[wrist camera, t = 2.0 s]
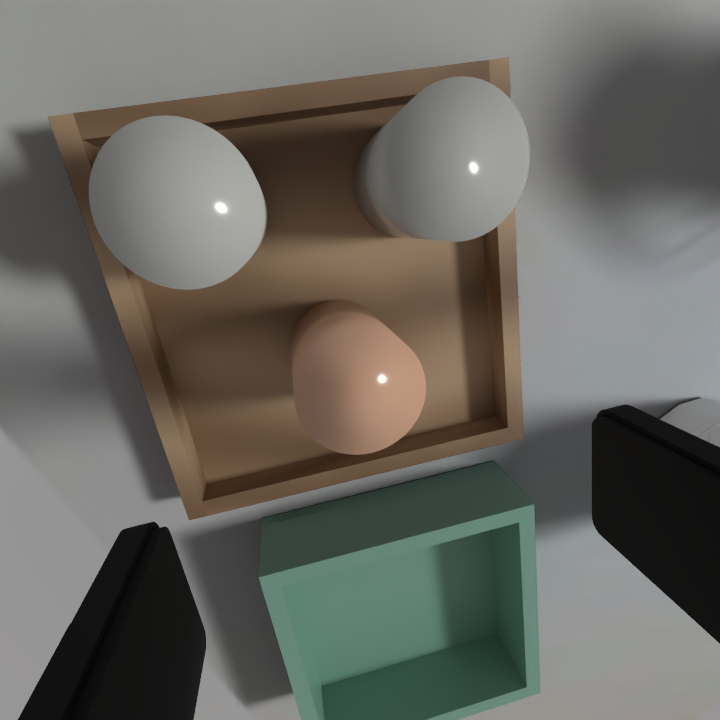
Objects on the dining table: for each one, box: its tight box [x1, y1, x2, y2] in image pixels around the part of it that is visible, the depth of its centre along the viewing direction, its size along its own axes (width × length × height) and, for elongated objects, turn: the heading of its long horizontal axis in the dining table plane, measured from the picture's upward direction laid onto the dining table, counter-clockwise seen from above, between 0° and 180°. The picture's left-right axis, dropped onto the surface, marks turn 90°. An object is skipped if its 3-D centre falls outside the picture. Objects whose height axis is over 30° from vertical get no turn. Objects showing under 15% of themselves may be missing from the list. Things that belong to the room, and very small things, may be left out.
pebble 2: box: [353, 76, 530, 242], centre depth 15 cm, size 4×4×6 cm
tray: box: [48, 57, 524, 520], centre depth 19 cm, size 16×16×2 cm
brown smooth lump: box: [290, 299, 426, 455], centre depth 17 cm, size 4×4×6 cm
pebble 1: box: [89, 115, 269, 290], centre depth 14 cm, size 4×4×6 cm
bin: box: [259, 461, 540, 720], centre depth 23 cm, size 13×13×4 cm
